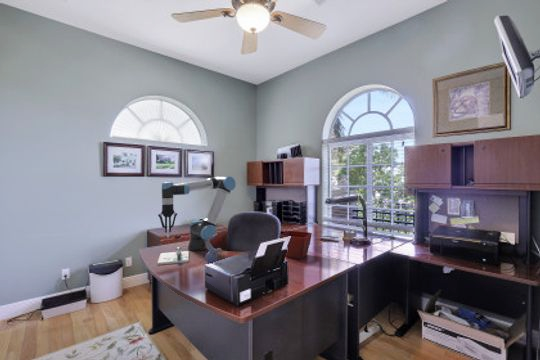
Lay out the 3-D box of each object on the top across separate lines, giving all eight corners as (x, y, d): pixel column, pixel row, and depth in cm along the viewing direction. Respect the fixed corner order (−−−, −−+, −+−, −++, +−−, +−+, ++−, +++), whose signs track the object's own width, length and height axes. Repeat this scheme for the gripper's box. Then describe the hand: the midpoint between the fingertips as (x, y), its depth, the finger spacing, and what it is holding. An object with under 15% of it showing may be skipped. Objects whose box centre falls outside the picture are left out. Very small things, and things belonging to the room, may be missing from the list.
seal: (219, 266, 170) (219, 236, 170) (202, 264, 173) (203, 235, 173) (225, 262, 178) (225, 233, 178) (209, 260, 181) (209, 232, 181)
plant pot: (289, 250, 206) (289, 230, 205) (311, 254, 197) (312, 232, 197) (279, 257, 189) (279, 235, 188) (304, 261, 180) (304, 238, 180)
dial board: (188, 252, 199) (188, 250, 199) (188, 262, 178) (188, 259, 178) (160, 255, 193) (160, 252, 193) (157, 264, 172) (157, 262, 172)
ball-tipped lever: (176, 253, 192) (176, 247, 192) (181, 252, 194) (181, 246, 193) (176, 260, 175) (176, 254, 175) (181, 260, 176) (181, 253, 176)
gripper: (157, 204, 174) (157, 239, 175) (177, 204, 178) (177, 237, 179) (158, 203, 181) (158, 236, 182) (177, 203, 185) (178, 235, 186)
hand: (168, 236), depth 180 cm, fingers closed
